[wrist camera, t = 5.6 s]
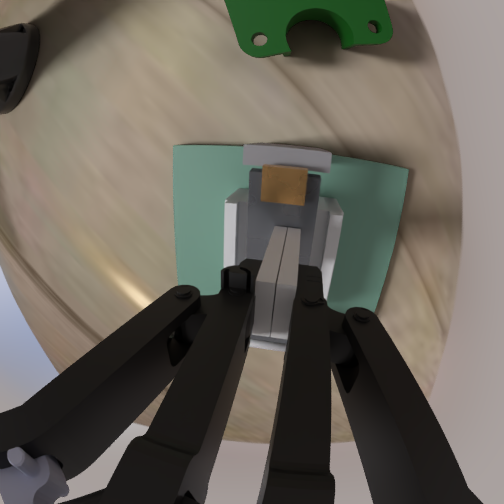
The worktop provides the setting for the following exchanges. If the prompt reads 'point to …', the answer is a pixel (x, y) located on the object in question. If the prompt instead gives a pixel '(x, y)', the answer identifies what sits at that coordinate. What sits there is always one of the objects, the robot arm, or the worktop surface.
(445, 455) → the robot arm
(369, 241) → the board
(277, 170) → the grey flat bar
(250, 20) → the clamp
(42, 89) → the worktop surface
